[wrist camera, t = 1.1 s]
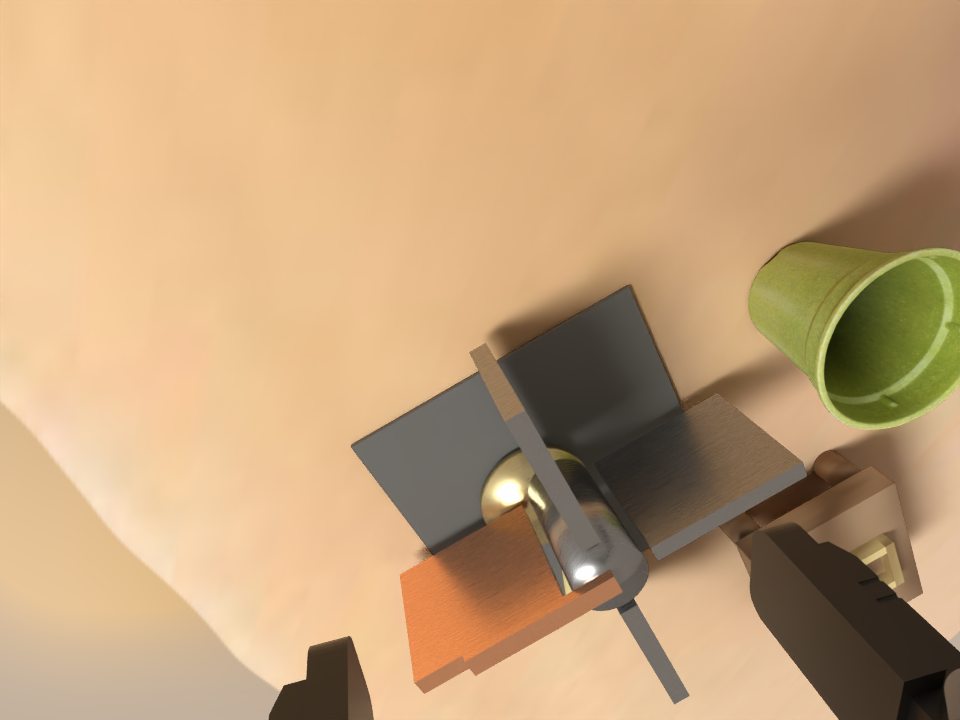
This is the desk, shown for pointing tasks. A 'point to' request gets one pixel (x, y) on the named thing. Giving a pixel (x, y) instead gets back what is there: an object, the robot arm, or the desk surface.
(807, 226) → the desk surface
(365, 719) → the robot arm
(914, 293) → the plant pot
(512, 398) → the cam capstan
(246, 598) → the desk surface
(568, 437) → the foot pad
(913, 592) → the level stand
